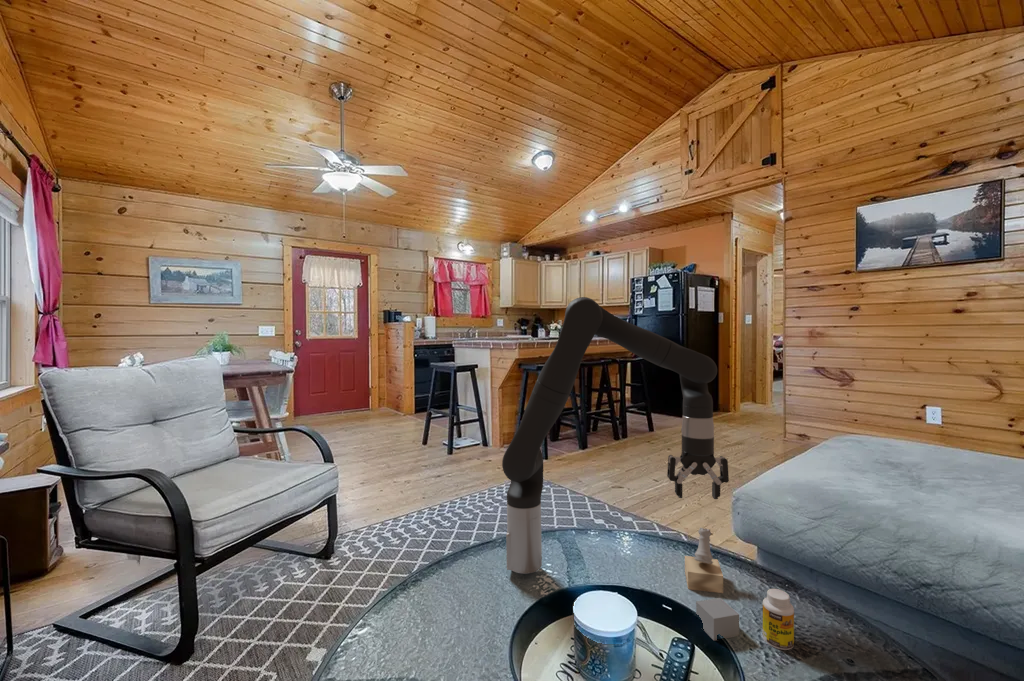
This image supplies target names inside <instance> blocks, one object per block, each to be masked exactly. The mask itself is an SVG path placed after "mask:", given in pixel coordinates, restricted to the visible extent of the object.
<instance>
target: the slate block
mask: <svg viewBox="0 0 1024 681" xmlns="http://www.w3.org/2000/svg"><path fill="white" fill-rule="evenodd" d="M695 614H697V615H699V617H700V618H701V620H702V623H703V629H704V630H703V629H702V630H703V631H704V632H705V633H706V634H707V636H709V638H711V639H712V640H713V641H718V640H717V635H718V634H720V635H721V636H723V637H724V638H725V639H729V638H733V637H738V636H740V614H739V612H737V611H736V610H735V609H734V608H732V606H730V605H729V604H728V603H727V602H726V601H725V600H723V599H722V597H716V598H711V599H704V600H703V599H702V600H697V601H695Z"/></svg>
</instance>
